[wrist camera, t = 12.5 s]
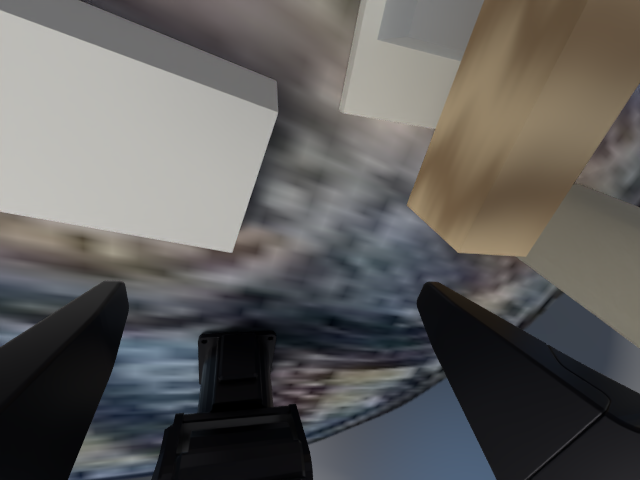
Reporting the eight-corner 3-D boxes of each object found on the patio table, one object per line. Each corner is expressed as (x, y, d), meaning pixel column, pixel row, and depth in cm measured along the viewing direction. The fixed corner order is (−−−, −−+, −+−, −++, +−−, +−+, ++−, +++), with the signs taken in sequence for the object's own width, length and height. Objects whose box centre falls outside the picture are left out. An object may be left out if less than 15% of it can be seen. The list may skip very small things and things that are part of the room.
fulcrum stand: (495, 138, 21) (548, 155, 18) (338, 110, 18) (364, 125, 14) (579, -46, 17) (678, -74, 13) (386, -131, 13) (443, -203, 9)
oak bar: (619, -358, 9) (967, -738, 4) (700, -280, 10) (1033, -522, 6) (406, 205, 17) (458, 252, 13) (462, 211, 18) (525, 256, 14)
